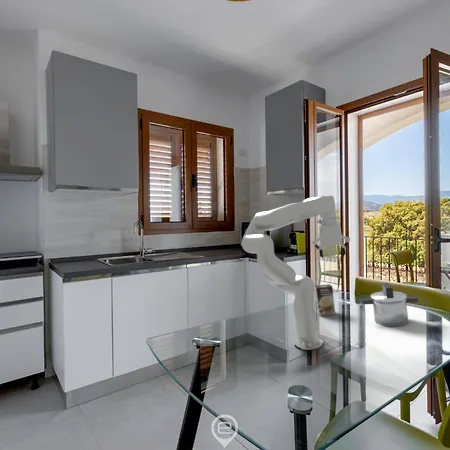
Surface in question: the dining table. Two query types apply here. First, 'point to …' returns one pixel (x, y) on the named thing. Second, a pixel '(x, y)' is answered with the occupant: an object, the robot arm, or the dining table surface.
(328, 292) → the coffee box
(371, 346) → the dining table surface
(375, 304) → the pot
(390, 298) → the lid
